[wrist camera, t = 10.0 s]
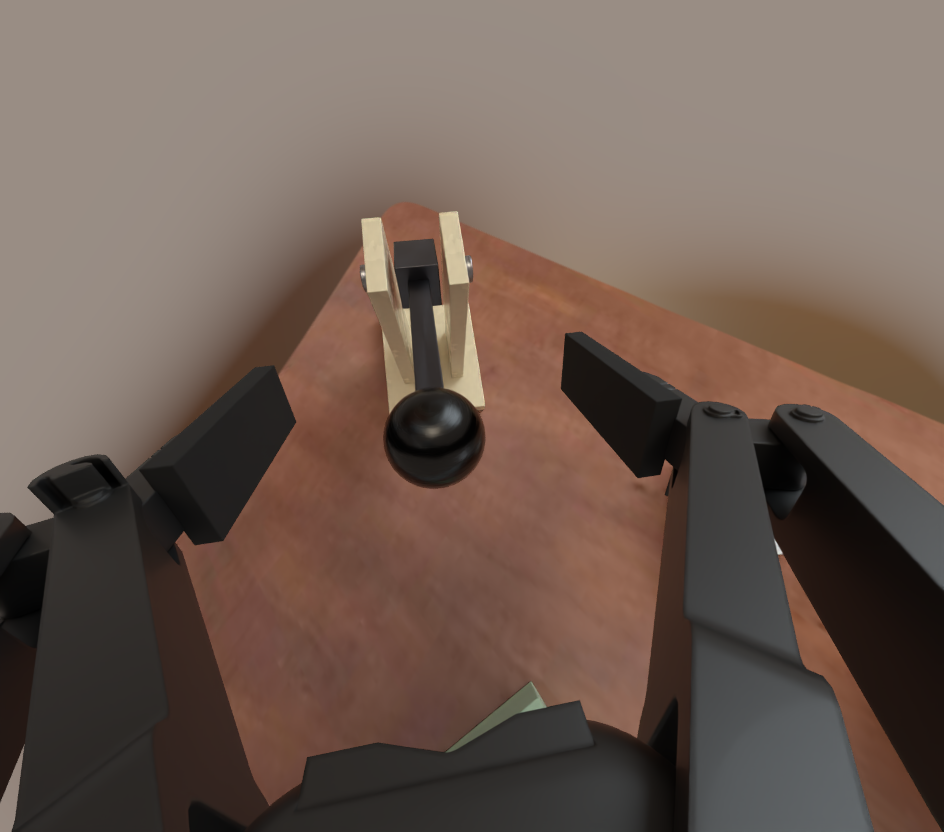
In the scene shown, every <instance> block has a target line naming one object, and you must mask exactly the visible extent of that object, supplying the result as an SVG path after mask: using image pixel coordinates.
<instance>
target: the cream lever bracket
mask: <svg viewBox="0 0 944 832" xmlns="http://www.w3.org/2000/svg"><path fill="white" fill-rule="evenodd" d="M361 221H362V235H363V248H364V261H365V265H360V276H361V281H362V285H363V288H364V290H365V292H367V294H368V296H369V298H370V301H371V303H372V306H373V308H374V311H375V313H376V315H377V318H378V320H379V323H380V325H381V327H382V335H383V346H384V357H385V369H386V380H387V392H388V403H389V414H390V412H391V411H392V409H393V408H394V407H395V405H396V404H397V403H398V402H399V401H400V400H401V399H403V398H404V397H405V396H407V395H408V394H410V393H412V392H414V391H415V379H414V365H413V350H412V336H411V321H410V308H409V309H403V308H402V304H401V299H400V294H399V289H398V284H397V279H396V275H395V271H394V267H393V263H392V259H391V255H390V251H389V248H388V244H387V240H386V236H385V232H384V228H383V224H382V220H381V218H366V219H362V220H361ZM439 227H440V246H441V264H442V282H443V300H444V305H439V306H433V312H434V320H435V327H436V334H437V341H438V348H439V355H440V363H441V370H442V377H443V384H444V388H446V389H450V390H453V391H455V392H457V393H459V394H461V395H463V396H464V397H466V398H467V399H468V400H469V401H470V402H471V403H472V404H473V405H474V406H475V408H476V409H477V410H484V408H485V401H484V395H483V389H482V383H481V377H480V370H479V364H478V358H477V352H476V346H475V340H474V334H473V327H472V321H471V315H470V309H469V303H468V295H469V283H471V282H472V281H473V266H472V259H471V256H465V254H464V248H463V242H462V236H461V230H460V224H459V219H458V213H457V212H446V213H439Z"/></svg>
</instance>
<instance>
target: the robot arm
mask: <svg viewBox="0 0 944 832" xmlns="http://www.w3.org/2000/svg"><path fill="white" fill-rule="evenodd" d="M561 390H562V391H563V392H564V393H565V394H566V395H567V397H568V398H569V399H570V400H571V401H572V402H573V404H574V405H575V406H576V407H577V408H578V409H579V411H580V412H581V413H582V414H583V415H584V416H585V418H586V419H587V420H588V421H589V422H590V423H591V424H592V426H593V427H594V428H595V429H596V430H597V431H598V433H599V434H600V435H601V436H602V437H603V438H604V440H605V441H606V442H607V443H608V444H609V445H610V447H611V448H612V449H613V450H614V451H615V452H616V453H617V455H618V456H619V457H620V458H621V459H622V460H623V462H624V463H625V464H626V465H627V466H628V467H629V469H630V470H631V471H632V472H633V473H634V474H635V476H636V477H637V478H642V477H648V476H655V475H660V474H661V471H662V467H663V464H664V460H665V459H666V460H667V461H668V462H669V463H670V464H671V465H672V466H673V470H672V473H671V476H670V480H669V483H668V486H667V489H666V492H665V495H666V496H668V503H667V512H666V521H665V530H664V539H663V548H662V557H661V566H660V575H659V584H658V593H657V603H656V612H655V621H654V630H653V639H652V648H651V657H650V666H649V675H648V684H647V692H646V698H645V703H644V707H643V711H642V715H641V720H640V725H639V730H638V736H637V738H635V737H634V736H632V735H630V734H628V733H626V732H624V731H621V730H619V729H617V728H615V727H613V726H609V725H606V724H603V723H599V722H596V721H590V720H586V718H585V715H584V712H583V709H582V706H581V703H580V700H579V701H574V702H569V703H564V704H560V705H555V706H550V707H545V708H541V709H536V710H531V711H526V712H521V713H517V714H515V715H513V716H512V717H510V718H508V719H506V720H505V721H503V722H501V723H500V724H498V725H496V726H495V727H493V728H491V729H490V730H488V731H486V732H485V733H483V734H481V735H480V736H478V737H476V738H475V739H473V740H471V741H470V742H468V743H466V744H465V745H463V746H461V747H460V748H458V749H456V750H454V751H451V752H437V751H430V750H424V749H417V748H410V747H404V746H397V745H390V744H384V743H373V744H368V745H364V746H359V747H354V748H349V749H344V750H340V751H335V752H330V753H325V754H321V755H316V756H311V757H307V761H306V765H305V770H304V775H303V780H302V783H301V784H299V785H298V786H296V787H294V788H293V789H292V790H290V791H289V792H287V793H286V794H285V795H283V796H282V797H280V798H279V799H278V800H276V801H275V802H274V803H273V804H272V805H271V806H270V807H269V804H268V802H267V801H266V799H265V798H264V796H263V794H262V793H261V791H260V790H259V788H258V786H257V785H256V783H255V780H254V778H253V776H252V773H251V771H250V768H249V765H248V761H247V758H246V755H245V752H244V748H243V745H242V742H241V739H240V736H239V732H238V729H237V726H236V723H235V720H234V716H233V713H232V710H231V707H230V704H229V700H228V697H227V694H226V691H225V688H224V684H223V681H222V678H221V675H220V671H219V668H218V665H217V662H216V659H215V655H214V652H213V649H212V646H211V643H210V639H209V636H208V633H207V630H206V627H205V623H204V620H203V617H202V614H201V611H200V607H199V604H198V601H197V598H196V595H195V591H194V588H193V585H192V582H191V578H190V575H189V572H188V569H187V566H186V562H185V559H184V556H183V553H182V551H181V550H180V548H179V547H178V546H177V544H176V543H175V542H176V540H177V539H178V538H179V536H180V535H181V534H182V533H183V531H184V532H185V533H186V534H187V536H188V537H189V538H190V540H191V541H192V542H193V544H194V545H200V544H206V543H213V542H219V541H223V540H224V539H225V537H226V535H227V534H228V532H229V531H230V529H231V527H232V526H233V524H234V522H235V521H236V519H237V518H238V516H239V514H240V513H241V511H242V509H243V508H244V506H245V505H246V503H247V501H248V500H249V498H250V496H251V495H252V493H253V492H254V490H255V488H256V487H257V485H258V483H259V482H260V480H261V479H262V477H263V475H264V474H265V472H266V470H267V469H268V467H269V466H270V464H271V462H272V461H273V459H274V457H275V456H276V454H277V453H278V451H279V449H280V448H281V446H282V444H283V443H284V441H285V440H286V438H287V436H288V435H289V433H290V431H291V430H292V428H293V427H294V425H295V423H296V420H295V417H294V415H293V412H292V410H291V407H290V405H289V402H288V400H287V397H286V395H285V392H284V389H283V387H282V384H281V382H280V379H279V377H278V374H277V372H276V369H275V367H274V366H265V367H255V368H254V369H253V370H251V371H250V372H249V373H248V374H247V375H246V376H245V377H244V378H242V379H241V380H240V381H239V382H238V383H237V384H236V385H235V386H233V387H232V388H231V389H230V390H229V391H228V392H227V393H225V394H224V395H223V396H222V397H221V398H220V399H218V400H217V402H215V403H214V404H213V405H212V406H211V407H210V408H208V409H207V410H206V411H205V412H204V413H203V414H201V415H200V416H199V417H198V418H197V419H196V420H195V421H194V422H193V423H191V424H190V425H189V426H188V427H187V428H186V429H184V430H183V431H182V432H181V433H180V434H178V435H177V436H175V437H173V438H172V439H170V440H169V441H168V442H167V443H166V444H165V445H164V446H162V447H161V450H158V451H157V452H156V453H154V455H152V456H151V457H152V458H149V459H148V460H146V461H145V462H144V463H143V464H142V465H141V466H139V467H138V468H137V469H136V470H135V471H134V472H133V473H131V474H130V475H129V476H128V477H127V478H126V479H125V478H124V477H123V476H122V474H121V473H120V472H119V470H118V469H117V468H116V467H115V465H114V464H113V463H112V462H111V460H110V459H109V458H108V457H107V456H106V455H98V454H97V455H91V456H85V457H82V458H78V459H75V460H71V461H69V462H66V463H64V464H61V465H59V466H56V467H54V468H52V469H51V470H48V471H47V472H45V473H43V474H41V475H40V476H38V477H37V478H35V479H34V480H33V481H32V482H31V483H30V484H29V486H28V489H30V490H31V492H32V493H33V494H34V495H35V496H36V497H37V498H38V499H40V501H41V502H42V503H43V504H44V505H45V506H46V507H47V508H48V509H49V510H50V511H51V512H52V513H53V514H54V518H51V519H48V520H44V521H41V522H38V523H34V524H31V525H27V526H25V525H24V524H23V523H22V522H21V521H19V520H18V519H17V518H16V517H15V516H14V515H13V514H11V513H0V801H1V799H2V797H3V794H4V792H5V790H6V787H7V785H8V782H9V780H10V778H11V775H12V773H13V770H14V768H15V765H16V763H17V761H18V758H19V756H20V753H21V750H22V748H23V746H24V744H25V746H24V753H23V761H22V769H21V777H20V785H19V794H18V801H17V809H16V817H15V821H14V825H13V829H12V832H874V829H873V826H872V822H871V818H870V815H869V811H868V808H867V804H866V800H865V797H864V793H863V789H862V786H861V782H860V778H859V775H858V771H857V768H856V764H855V760H854V757H853V753H852V749H851V746H850V742H849V739H848V735H847V731H846V728H845V724H844V720H843V717H842V713H841V710H840V706H839V704H838V701H837V699H836V696H835V694H834V691H833V689H832V687H831V686H830V684H829V683H828V682H827V681H826V679H825V678H824V677H823V676H822V675H819V674H817V673H814V672H812V671H810V670H807V669H806V667H805V666H804V665H803V663H802V660H801V657H800V654H799V649H798V645H797V640H796V635H795V631H794V626H793V622H792V617H791V613H790V608H789V603H788V599H787V594H786V590H785V585H784V581H783V576H782V571H781V567H780V562H779V558H778V553H777V549H776V544H775V541H776V543H777V544H778V546H779V548H780V550H781V551H782V553H783V555H784V557H785V558H786V560H787V562H788V564H789V565H790V567H791V569H792V571H793V572H794V574H795V576H796V578H797V579H798V581H799V583H800V585H801V586H802V588H803V590H804V591H805V593H806V595H807V597H808V598H809V600H810V602H811V604H812V605H813V607H814V609H815V611H816V612H817V614H818V616H819V618H820V619H821V621H822V623H823V625H824V626H825V628H826V630H827V632H828V633H829V635H830V637H831V639H832V640H833V642H834V644H835V646H836V647H837V649H838V651H839V653H840V654H841V656H842V658H843V660H844V661H845V663H846V665H847V667H848V668H849V670H850V672H851V674H852V675H853V677H854V679H855V681H856V682H857V684H858V686H859V688H860V689H861V691H862V693H863V695H864V696H865V698H866V700H867V702H868V703H869V705H870V707H871V709H872V710H873V712H874V714H875V716H876V717H877V719H878V721H879V723H880V724H881V726H882V728H883V730H884V731H885V733H886V735H887V736H888V738H889V740H890V742H891V743H892V745H893V747H894V749H895V750H896V752H897V754H898V756H899V757H900V759H901V761H902V763H903V764H904V766H905V768H906V770H907V771H908V773H909V775H910V777H911V778H912V780H913V782H914V784H915V785H916V787H917V789H918V791H919V792H920V794H921V796H922V798H923V799H924V801H925V803H926V805H927V806H928V808H929V810H930V812H931V813H932V815H933V817H934V818H935V820H936V821H937V823H938V825H939V826H940V828H941V830H942V831H943V832H944V505H942V504H941V503H940V502H939V501H938V500H936V499H935V498H934V497H933V496H932V495H930V494H929V493H928V492H927V491H926V490H924V489H923V488H922V487H921V486H919V485H918V484H917V483H916V482H915V481H913V480H912V479H911V478H910V477H909V476H907V475H906V474H905V473H904V472H903V471H901V470H900V469H899V468H898V467H896V466H895V465H894V464H893V463H892V462H890V461H889V460H888V459H887V458H886V457H884V456H883V455H882V454H881V453H879V452H878V451H877V450H876V449H875V448H873V447H872V446H871V445H870V444H869V443H867V442H866V441H865V440H864V439H863V438H861V437H860V436H859V435H858V434H856V433H855V432H854V431H853V430H852V429H850V428H849V427H848V426H847V425H846V424H844V423H843V422H842V421H841V420H840V419H838V418H837V417H835V416H834V415H832V414H830V413H828V412H826V411H823V410H821V409H820V408H817V407H814V406H812V407H811V406H810V405H798V404H783V405H780V406H777V408H776V409H775V411H774V413H773V415H772V417H771V420H767V419H748V417H747V415H746V414H745V413H744V412H743V411H741V410H740V409H738V408H736V407H733V406H731V405H728V404H723V403H719V402H709V401H707V402H699V403H698V402H697V401H695V400H694V399H692V398H690V397H689V396H687V395H686V394H684V393H683V392H681V391H679V390H678V389H675V387H673V386H672V385H670V384H667V382H665V381H664V380H662V379H661V378H659V377H657V376H655V375H652V374H649V373H646V372H642V371H640V370H639V369H637V368H636V367H634V366H633V365H631V364H630V363H628V362H627V361H625V360H624V359H622V358H621V357H619V356H618V355H616V354H615V353H613V352H612V351H610V350H609V349H607V348H606V347H604V346H602V345H601V344H599V343H598V342H596V341H595V340H593V339H592V338H590V337H589V336H587V335H586V334H584V333H583V332H574V333H565V343H564V356H563V369H562V382H561Z"/></svg>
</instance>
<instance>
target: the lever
mask: <svg viewBox="0 0 944 832" xmlns="http://www.w3.org/2000/svg"><path fill="white" fill-rule="evenodd" d="M394 269H395V274H396V279H397V284H398V289H399V294H400V299H401V304H402V308H403V309H408V308H410V321H411V336H412V350H413V365H414V379H415V391H414V392H412V393H410V394H408V395H407V396H405V397H404V398H403V399H401V400H400V401H399V402H398V403H397V404H396V405H395V407H394V408H393V409H392V411H391V412H390V414H389V416H388V418H387V421H386V424H385V428H384V435H383V441H384V449H385V453H386V456H387V458H388V461H389V462H390V464H391V466H392V467H393V469H394V470H395V471H396V472H397V473H398V474H399V475H400V476H401V477H402V478H403V479H405V480H406V481H408V482H410V483H412V484H414V485H416V486H419V487H423V488H429V489H438V488H445V487H449V486H452V485H454V484H456V483H459V482H460V481H462V480H463V479H465V478H466V477H467V476H468V475H469V474H470V473H471V472H472V471H473V470H474V469H475V468H476V466H477V465H478V463H479V461H480V459H481V457H482V454H483V451H484V446H485V428H484V424H483V421H482V418H481V416H480V414H479V412H478V411H477V409H476V408H475V406H474V405H473V404H472V403H471V402H470V401H469V400H468V399H467V398H466V397H464V396H463V395H461V394H459V393H457V392H455V391H453V390H450V389H446V388H444V384H443V377H442V370H441V363H440V355H439V348H438V341H437V334H436V327H435V320H434V312H433V306H438V305H442V301H441V291H440V280H439V269H438V262H437V256H436V250H435V245H434V240H433V239H424V240H412V241H400V242H394Z"/></svg>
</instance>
